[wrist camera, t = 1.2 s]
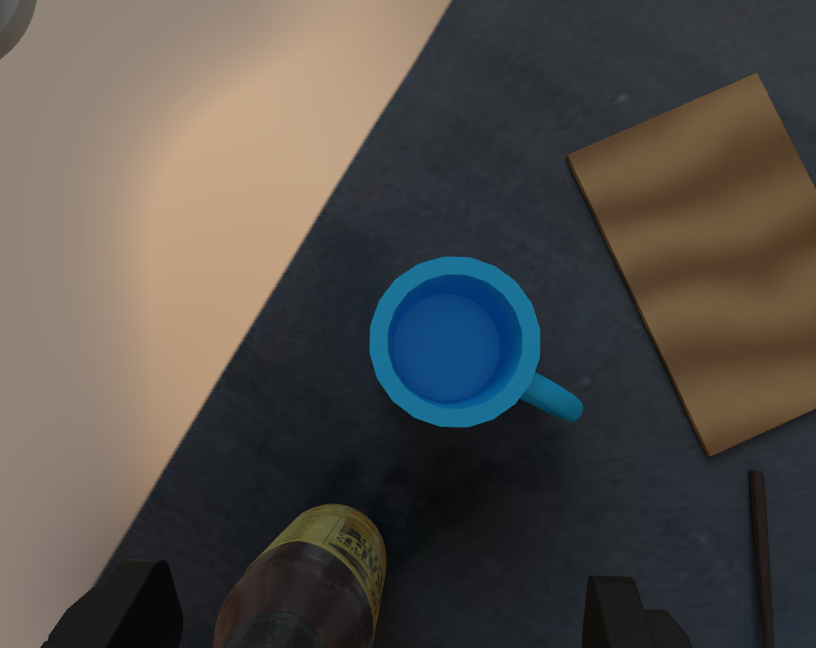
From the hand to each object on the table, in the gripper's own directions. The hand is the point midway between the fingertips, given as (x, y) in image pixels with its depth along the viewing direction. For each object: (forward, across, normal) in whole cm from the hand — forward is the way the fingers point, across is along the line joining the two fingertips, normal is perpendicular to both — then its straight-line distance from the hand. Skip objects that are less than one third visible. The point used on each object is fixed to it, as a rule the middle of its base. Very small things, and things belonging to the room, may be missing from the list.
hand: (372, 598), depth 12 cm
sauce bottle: (+19, +6, +18) cm, 26 cm away
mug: (+25, -2, +8) cm, 26 cm away
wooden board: (+29, -18, +4) cm, 34 cm away
